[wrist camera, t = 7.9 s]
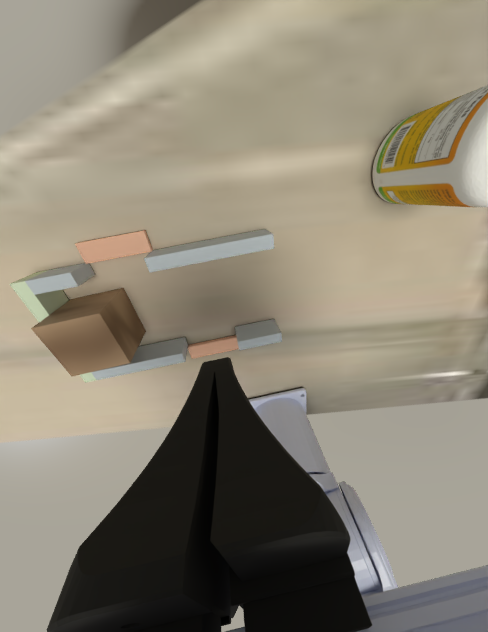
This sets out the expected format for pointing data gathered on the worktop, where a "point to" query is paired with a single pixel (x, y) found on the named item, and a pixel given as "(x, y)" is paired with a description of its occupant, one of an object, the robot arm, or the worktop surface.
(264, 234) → the channel
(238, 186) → the worktop surface
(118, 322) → the walnut block
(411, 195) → the supplement bottle
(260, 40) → the worktop surface
